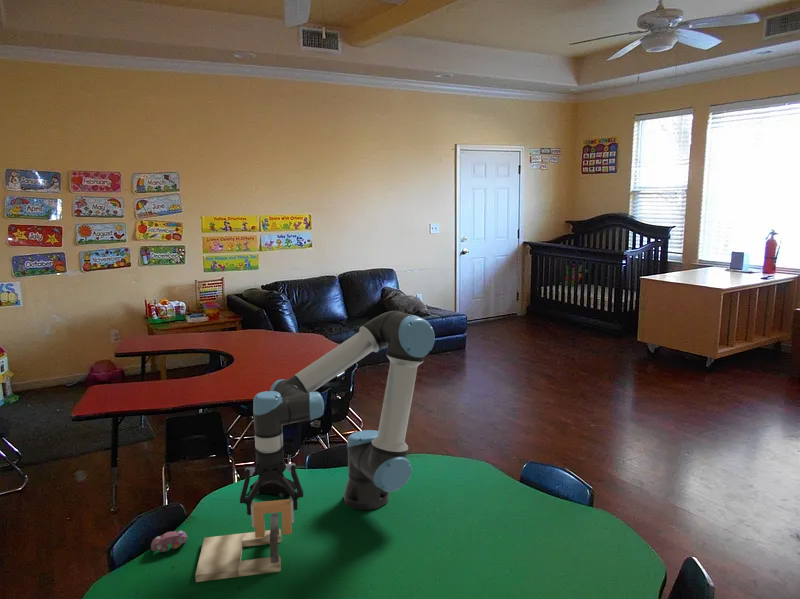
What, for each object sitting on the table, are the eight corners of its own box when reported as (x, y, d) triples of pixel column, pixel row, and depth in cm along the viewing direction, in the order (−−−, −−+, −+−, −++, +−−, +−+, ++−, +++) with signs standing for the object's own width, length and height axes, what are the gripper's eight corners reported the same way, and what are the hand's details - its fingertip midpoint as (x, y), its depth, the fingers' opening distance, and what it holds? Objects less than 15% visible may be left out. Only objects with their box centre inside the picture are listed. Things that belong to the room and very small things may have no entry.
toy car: (258, 485, 210) (257, 472, 209) (298, 491, 205) (298, 477, 204) (248, 494, 203) (247, 481, 203) (289, 500, 199) (289, 486, 198)
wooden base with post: (281, 534, 178) (279, 510, 177) (280, 571, 161) (279, 544, 159) (204, 544, 174) (202, 518, 173) (195, 582, 157) (193, 554, 155)
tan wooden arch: (291, 528, 170) (290, 498, 169) (291, 533, 167) (290, 504, 166) (255, 532, 169) (254, 502, 167) (255, 537, 166) (253, 507, 164)
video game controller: (152, 560, 169) (151, 545, 166) (150, 546, 173) (149, 532, 169) (188, 550, 174) (188, 535, 170) (185, 537, 177) (185, 522, 173)
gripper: (310, 439, 170) (313, 511, 173) (228, 445, 165) (232, 519, 169) (311, 449, 162) (314, 524, 166) (225, 457, 158) (230, 534, 162)
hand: (273, 522), depth 168 cm, fingers closed on tan wooden arch, 10 cm apart
